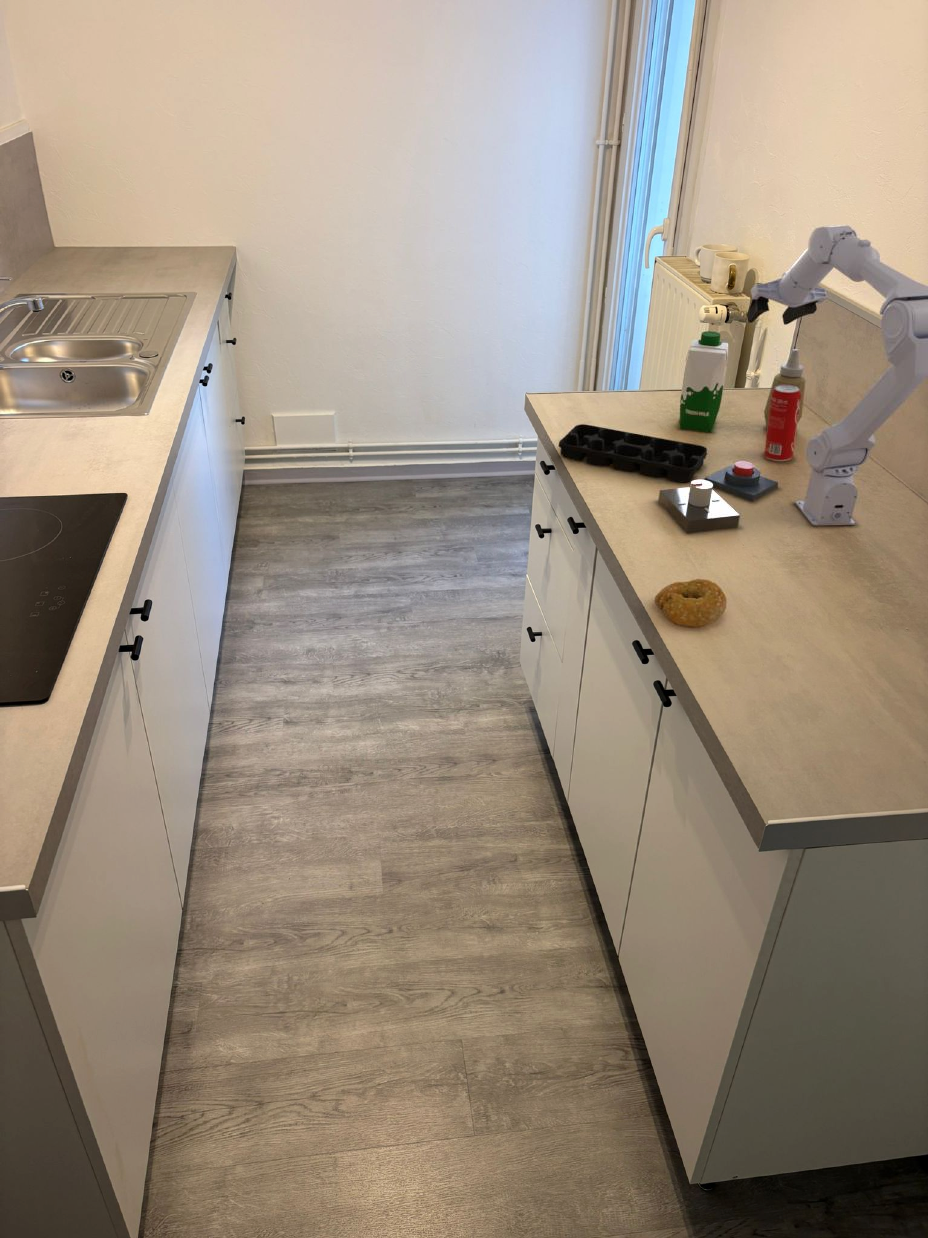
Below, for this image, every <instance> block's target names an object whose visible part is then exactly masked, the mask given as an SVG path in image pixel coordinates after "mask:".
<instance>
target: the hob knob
mask: <svg viewBox="0 0 928 1238" xmlns="http://www.w3.org/2000/svg"><path fill="white" fill-rule="evenodd" d="M689 487H690V491H689V497H688V502H689V503H690V504H691V505H694V506H698V507H705V506H708V505H709V504H710V501H711V495H712V490H714V489H713V488H714V487H713V484H712V483H711V482H709V481H706V480H705V479H694V480H691V481H690V485H689Z"/></svg>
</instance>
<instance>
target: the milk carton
mask: <svg viewBox="0 0 928 1238" xmlns="http://www.w3.org/2000/svg"><path fill="white" fill-rule="evenodd" d="M689 346H690V347H689V348H688V351H687V354H686V357H685V365H684V371H683V377H682V385H681V393H680V401H679V429H680V430H685V431H693V432H703V433H710V434H711V433H713V429H714V427H715V423H716V420H717V418H718V415H719V412H720V408H721V405H722V404H721V403H722V398H723V391H724V387H725V381H726V374H727V366H728V359H729V342H723V341H721V334H720V333H719V332H716V331H711V330H710V331H709V330H707V331H702V332H701V334H700V339H692V341H691V343H690V345H689Z"/></svg>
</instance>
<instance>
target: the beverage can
mask: <svg viewBox="0 0 928 1238" xmlns="http://www.w3.org/2000/svg"><path fill="white" fill-rule="evenodd" d="M800 401H801V392H800V387H798V386H795V385H790V384H782V385H777V386H775V387H774V390H773V392H772V395H771V403H770V412H769V420H768V428H766V438H765V445H764V456H765V458H766V459H767V460H769V461H773V462H788V461H790V460H791V459H792V458H793V457H794V451H795V444H796V436H797V430H798V424H799V422H798V416H799V409H800ZM797 423H798V424H797Z"/></svg>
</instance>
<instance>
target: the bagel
mask: <svg viewBox="0 0 928 1238" xmlns="http://www.w3.org/2000/svg"><path fill="white" fill-rule="evenodd" d="M654 603H655V605H656V606H657V607H659V608H660V610H662V611H663V613H664V615H665V617H666V618H667V619H669V620H671V622H673V623H674V624H675V625H678V626H683V627H692V628H693V627H696V628H697V627H703V626H706V625H709V624H711V623H713V622H715V621H716V620H718V619H719V618H720V617H722V616H723V614H724V613H725V611H726V609H727V596H726V594H725V593H724V591H723V589H722V587H720V586H719V585H718V584H717V583H716V582H714V581H711V580H709V579H705V578H704V579H703V578H702V579H701V578H696V579H691V580H688V581H676V582H673V583H670V584H668V585H666V586H665V587H663V588H662V589H661V590H660V591H659V592H658V593H657V594H656V595H655V596H654Z"/></svg>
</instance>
